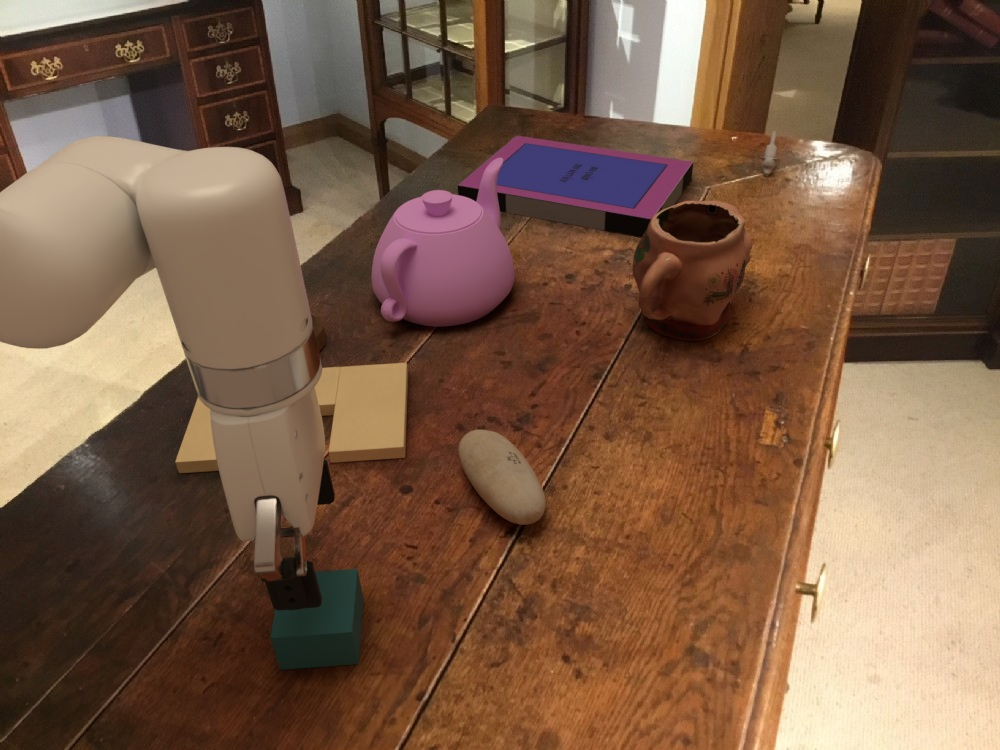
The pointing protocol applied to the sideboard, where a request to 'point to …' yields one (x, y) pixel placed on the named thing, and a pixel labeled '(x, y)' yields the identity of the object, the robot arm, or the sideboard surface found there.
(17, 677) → the sideboard surface
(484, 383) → the sideboard surface
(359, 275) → the sideboard surface
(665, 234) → the decorative planter
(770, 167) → the dog figurine
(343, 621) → the teal block
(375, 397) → the tan u-shaped block
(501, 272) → the teapot
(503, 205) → the book
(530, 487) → the stone
